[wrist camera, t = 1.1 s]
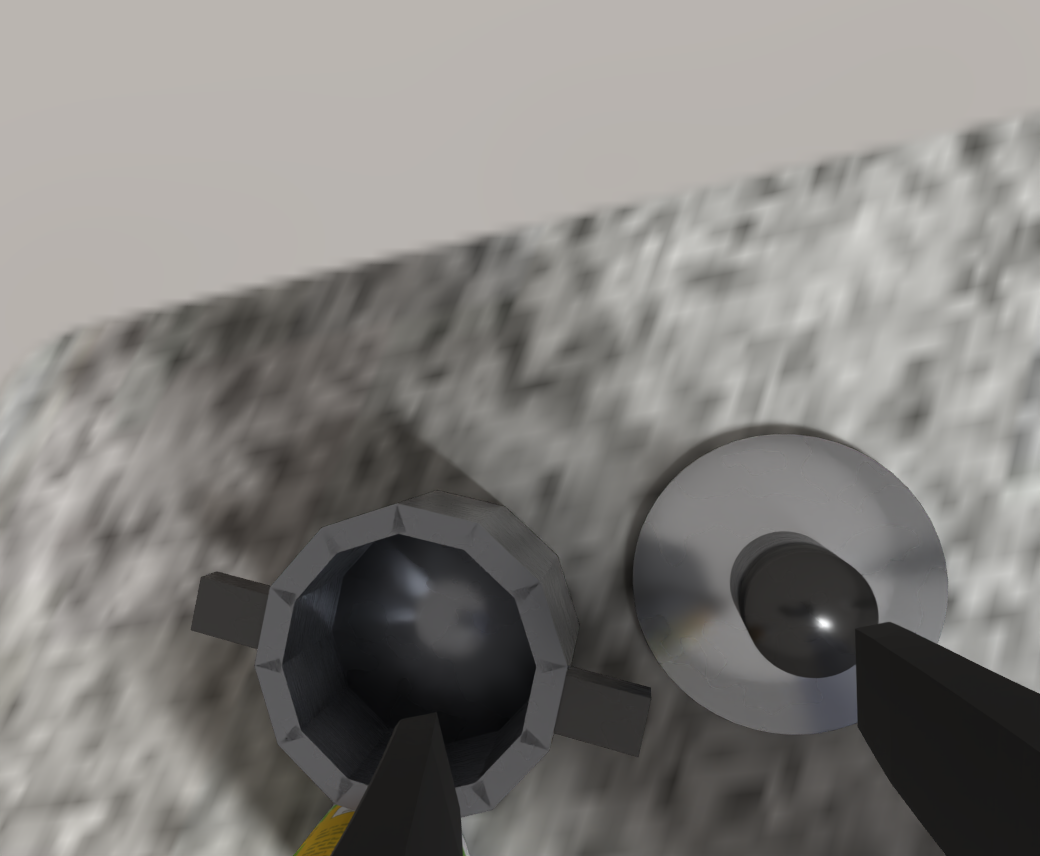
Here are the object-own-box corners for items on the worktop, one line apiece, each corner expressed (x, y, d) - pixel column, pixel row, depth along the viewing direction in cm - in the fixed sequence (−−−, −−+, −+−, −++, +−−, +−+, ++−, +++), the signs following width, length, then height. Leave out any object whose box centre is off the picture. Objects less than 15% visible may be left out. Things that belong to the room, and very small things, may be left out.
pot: (672, 545, 23) (680, 571, 19) (614, 810, 23) (609, 891, 19) (285, 454, 25) (217, 460, 21) (236, 698, 25) (161, 749, 21)
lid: (969, 467, 21) (1045, 479, 17) (901, 759, 22) (960, 837, 18) (665, 407, 23) (669, 405, 19) (607, 682, 23) (600, 737, 19)
